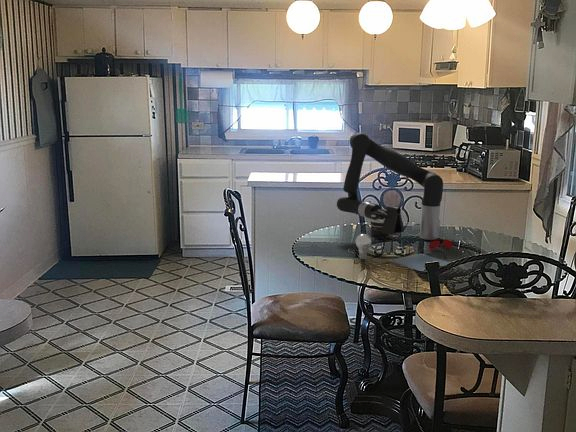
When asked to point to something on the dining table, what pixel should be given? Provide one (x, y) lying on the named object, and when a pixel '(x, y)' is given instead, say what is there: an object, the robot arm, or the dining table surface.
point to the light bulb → (363, 245)
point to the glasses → (446, 243)
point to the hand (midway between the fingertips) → (395, 217)
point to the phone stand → (393, 221)
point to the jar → (377, 228)
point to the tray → (417, 261)
